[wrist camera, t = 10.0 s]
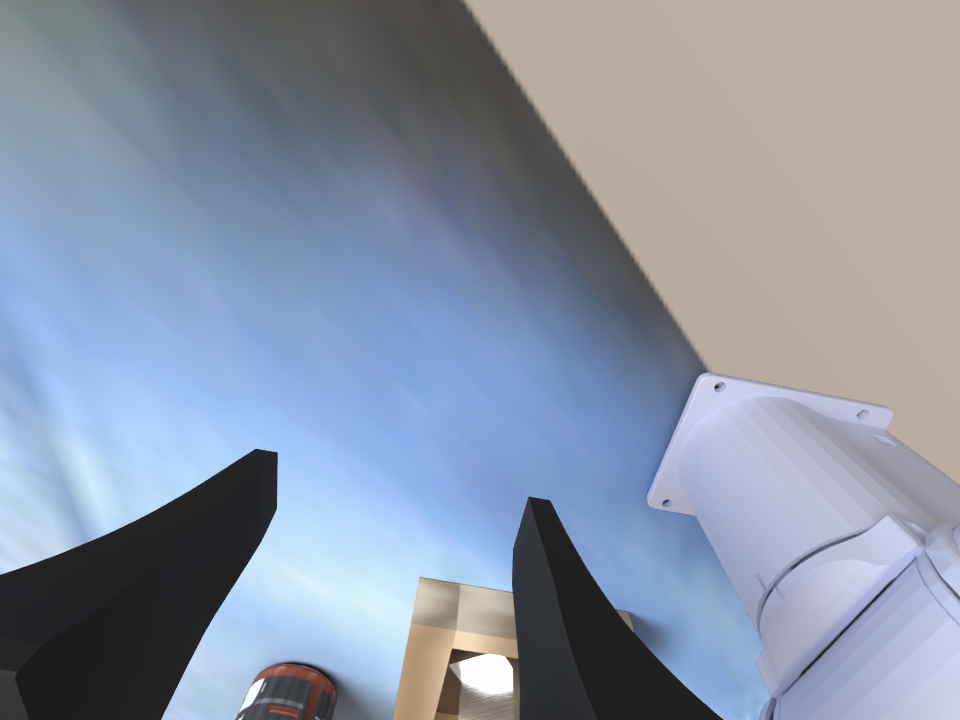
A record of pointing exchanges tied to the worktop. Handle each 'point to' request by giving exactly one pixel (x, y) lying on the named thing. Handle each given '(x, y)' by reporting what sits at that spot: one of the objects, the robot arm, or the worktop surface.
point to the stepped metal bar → (486, 685)
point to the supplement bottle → (289, 695)
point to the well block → (452, 644)
